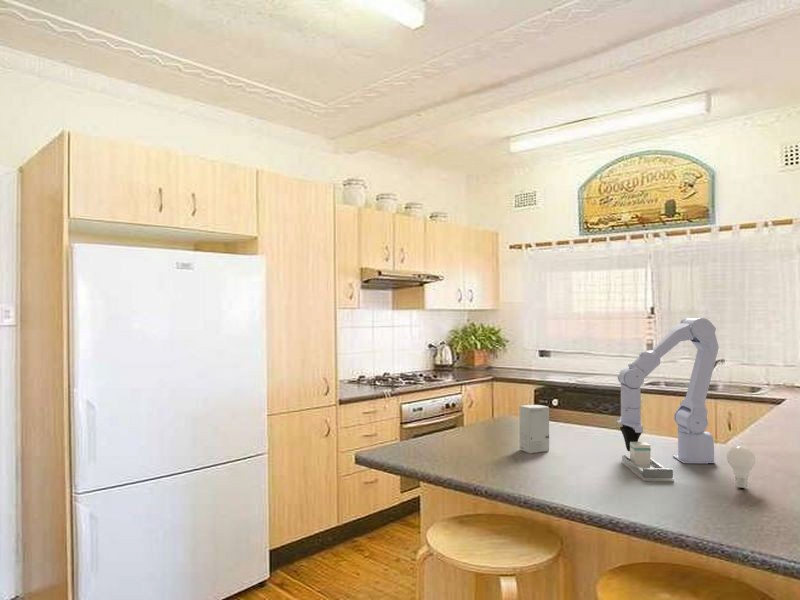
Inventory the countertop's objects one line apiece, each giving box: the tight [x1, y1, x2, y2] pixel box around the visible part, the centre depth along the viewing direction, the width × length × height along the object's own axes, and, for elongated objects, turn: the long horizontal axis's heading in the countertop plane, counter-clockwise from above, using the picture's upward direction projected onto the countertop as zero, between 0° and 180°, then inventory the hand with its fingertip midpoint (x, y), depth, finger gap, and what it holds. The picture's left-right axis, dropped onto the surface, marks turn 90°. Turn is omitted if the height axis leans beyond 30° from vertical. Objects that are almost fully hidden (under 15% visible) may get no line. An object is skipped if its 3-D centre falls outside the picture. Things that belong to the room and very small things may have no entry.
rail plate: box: [621, 454, 675, 482], centre depth 158 cm, size 8×18×3 cm, turn 176°
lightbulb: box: [726, 445, 756, 489], centre depth 143 cm, size 6×6×11 cm
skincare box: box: [518, 404, 550, 454], centre depth 182 cm, size 8×6×15 cm
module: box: [629, 441, 652, 466], centre depth 163 cm, size 5×4×6 cm
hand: (631, 450), depth 170 cm, fingers closed
